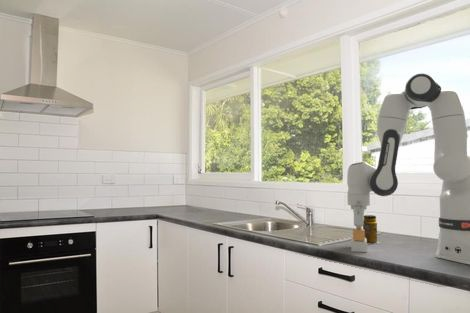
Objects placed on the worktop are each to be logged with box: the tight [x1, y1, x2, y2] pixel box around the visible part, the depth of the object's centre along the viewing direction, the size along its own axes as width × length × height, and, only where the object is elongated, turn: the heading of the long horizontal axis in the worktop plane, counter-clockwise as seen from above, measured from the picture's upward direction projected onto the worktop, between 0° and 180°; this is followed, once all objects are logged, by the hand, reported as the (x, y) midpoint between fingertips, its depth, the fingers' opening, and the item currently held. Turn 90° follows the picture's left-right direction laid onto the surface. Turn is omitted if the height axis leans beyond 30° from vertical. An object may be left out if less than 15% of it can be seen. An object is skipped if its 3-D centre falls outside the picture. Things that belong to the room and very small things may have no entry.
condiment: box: [362, 214, 382, 245], centre depth 170 cm, size 7×8×12 cm
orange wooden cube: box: [352, 228, 365, 241], centre depth 151 cm, size 4×4×4 cm
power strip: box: [350, 236, 368, 253], centre depth 154 cm, size 10×6×4 cm, turn 162°
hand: (359, 234), depth 155 cm, fingers closed
